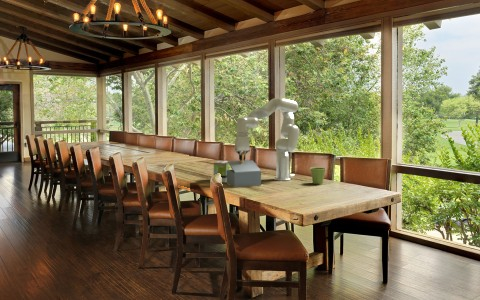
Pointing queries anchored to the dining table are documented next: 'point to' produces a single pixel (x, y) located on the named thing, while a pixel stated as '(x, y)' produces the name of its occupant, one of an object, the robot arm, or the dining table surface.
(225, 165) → the tea box
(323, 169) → the plant pot
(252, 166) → the lid flap
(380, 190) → the dining table surface
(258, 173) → the slate box
